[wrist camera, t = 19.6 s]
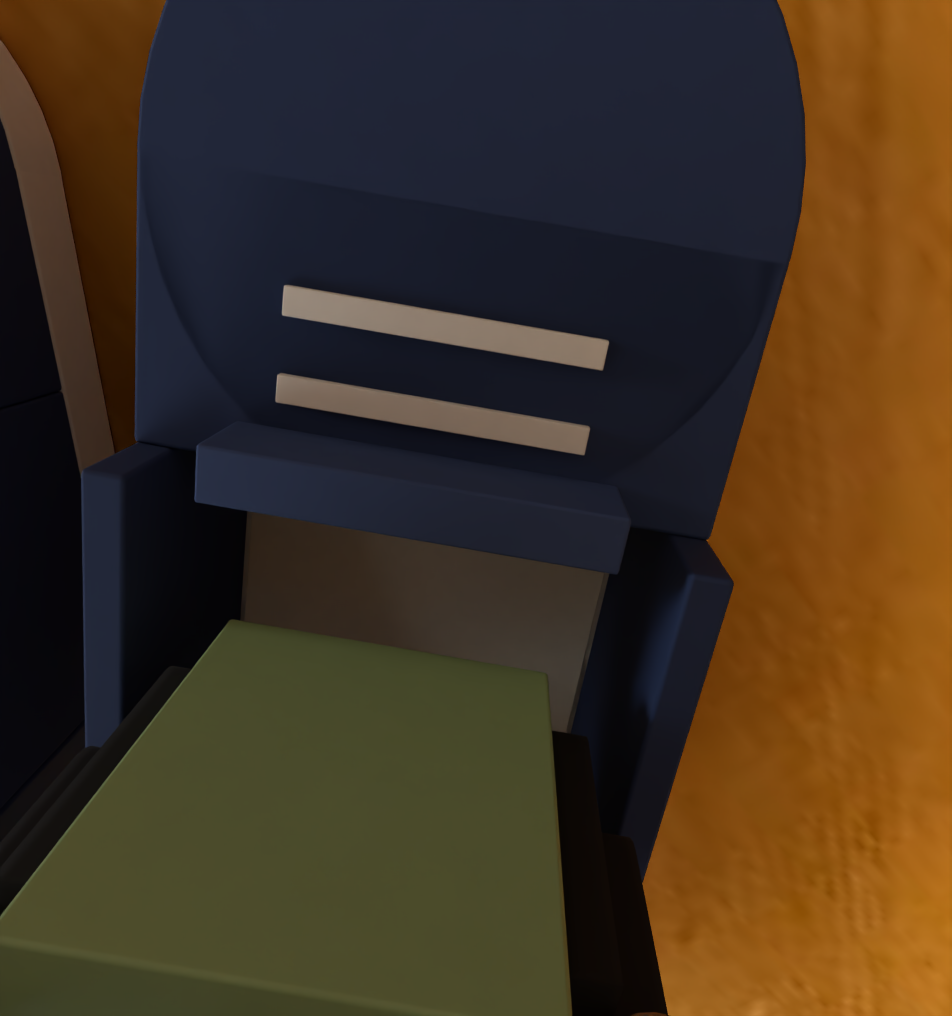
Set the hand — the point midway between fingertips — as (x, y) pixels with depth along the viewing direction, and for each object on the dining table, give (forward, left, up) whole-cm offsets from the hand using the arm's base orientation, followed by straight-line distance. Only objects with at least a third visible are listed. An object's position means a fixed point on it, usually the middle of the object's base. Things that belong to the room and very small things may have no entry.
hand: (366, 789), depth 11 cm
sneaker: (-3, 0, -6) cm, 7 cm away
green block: (0, 0, 0) cm, 0 cm away
